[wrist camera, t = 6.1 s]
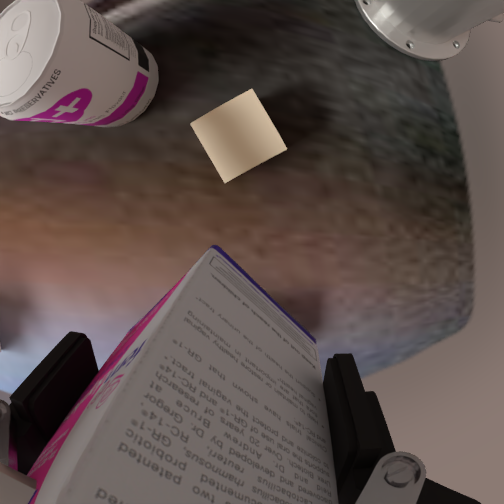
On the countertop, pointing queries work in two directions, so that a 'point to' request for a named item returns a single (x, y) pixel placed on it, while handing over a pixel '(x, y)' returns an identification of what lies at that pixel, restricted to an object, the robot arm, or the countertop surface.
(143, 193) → the countertop surface
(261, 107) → the birch block
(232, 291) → the supplement box
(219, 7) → the countertop surface
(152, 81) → the supplement can
